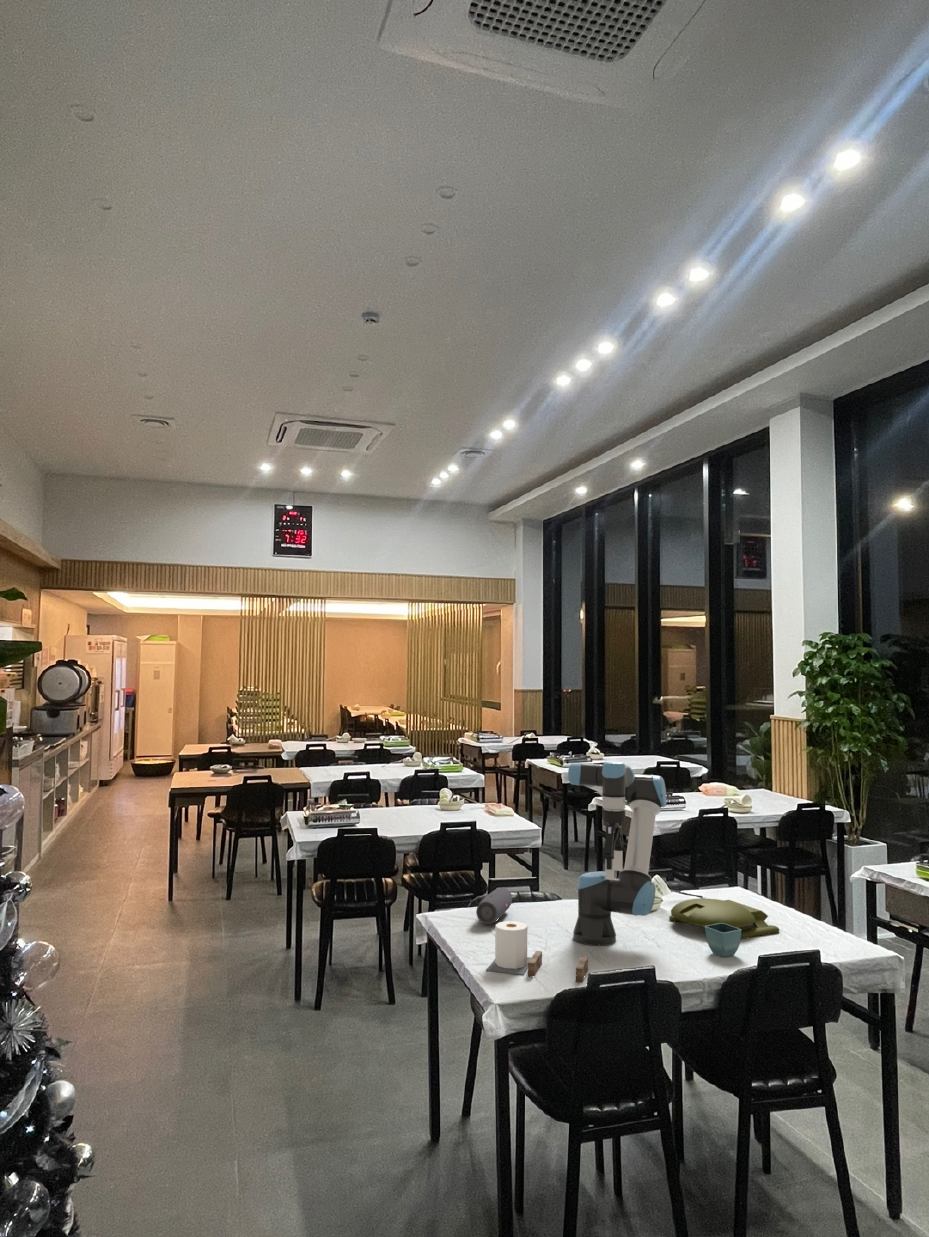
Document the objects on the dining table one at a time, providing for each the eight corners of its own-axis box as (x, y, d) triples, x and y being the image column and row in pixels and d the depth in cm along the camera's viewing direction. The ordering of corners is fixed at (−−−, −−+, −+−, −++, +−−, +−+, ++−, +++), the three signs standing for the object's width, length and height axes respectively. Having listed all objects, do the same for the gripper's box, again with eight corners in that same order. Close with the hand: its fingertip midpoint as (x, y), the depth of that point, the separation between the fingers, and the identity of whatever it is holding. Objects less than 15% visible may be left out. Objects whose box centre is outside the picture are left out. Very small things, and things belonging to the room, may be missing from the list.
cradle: (536, 963, 265) (536, 950, 265) (588, 969, 260) (588, 956, 260) (527, 975, 253) (527, 962, 254) (582, 982, 248) (582, 968, 249)
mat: (499, 955, 273) (499, 953, 273) (534, 958, 269) (534, 957, 269) (486, 970, 257) (486, 969, 258) (523, 975, 254) (523, 973, 254)
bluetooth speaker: (498, 928, 302) (498, 901, 303) (474, 926, 305) (475, 898, 306) (513, 912, 324) (514, 886, 325) (491, 910, 327) (491, 884, 328)
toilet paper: (523, 957, 269) (523, 920, 270) (529, 968, 259) (529, 929, 260) (493, 958, 268) (493, 920, 269) (498, 969, 258) (498, 930, 259)
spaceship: (723, 912, 329) (722, 887, 330) (782, 933, 302) (782, 906, 303) (654, 922, 314) (653, 896, 315) (710, 945, 287) (709, 917, 288)
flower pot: (723, 960, 270) (723, 932, 271) (704, 952, 278) (703, 925, 279) (742, 956, 274) (742, 929, 275) (722, 948, 282) (722, 922, 283)
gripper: (617, 815, 255) (617, 884, 254) (632, 805, 278) (632, 868, 277) (594, 813, 258) (594, 881, 257) (610, 803, 281) (610, 866, 280)
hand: (614, 874), depth 267 cm, fingers open, 13 cm apart
